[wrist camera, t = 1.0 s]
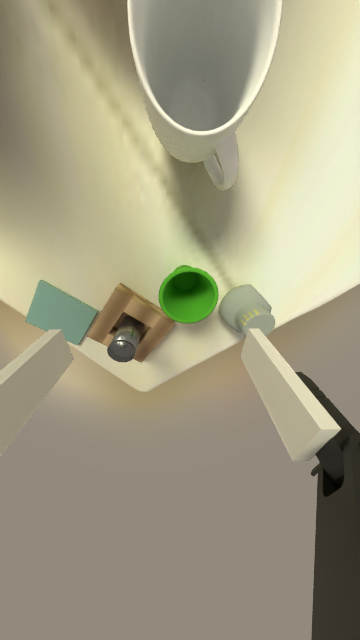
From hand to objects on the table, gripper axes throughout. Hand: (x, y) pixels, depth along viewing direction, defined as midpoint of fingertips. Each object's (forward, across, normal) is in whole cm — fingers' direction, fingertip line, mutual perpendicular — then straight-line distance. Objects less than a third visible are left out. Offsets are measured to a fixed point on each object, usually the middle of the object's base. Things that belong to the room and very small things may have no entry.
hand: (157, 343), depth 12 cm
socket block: (+24, -9, -13) cm, 29 cm away
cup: (+24, +3, -2) cm, 25 cm away
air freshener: (+24, +16, -8) cm, 30 cm away
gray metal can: (+24, -9, -13) cm, 28 cm away
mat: (+24, -25, -11) cm, 36 cm away
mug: (+24, +4, +19) cm, 31 cm away
